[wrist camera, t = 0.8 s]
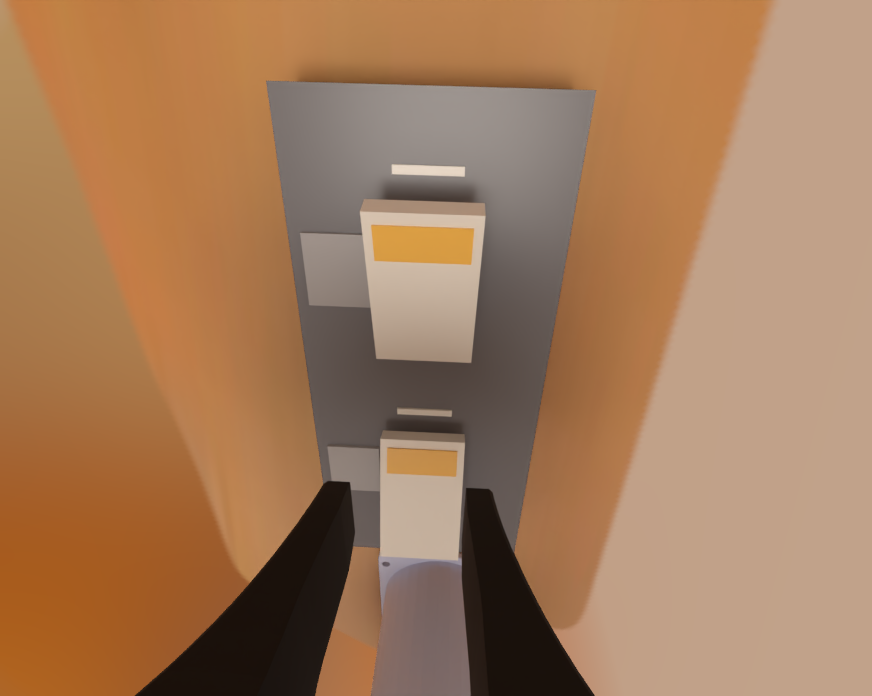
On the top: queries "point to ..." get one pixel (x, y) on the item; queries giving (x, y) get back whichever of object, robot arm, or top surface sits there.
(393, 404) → the switch strip
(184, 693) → the robot arm
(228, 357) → the top surface
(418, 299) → the plate
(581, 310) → the top surface
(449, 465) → the block
